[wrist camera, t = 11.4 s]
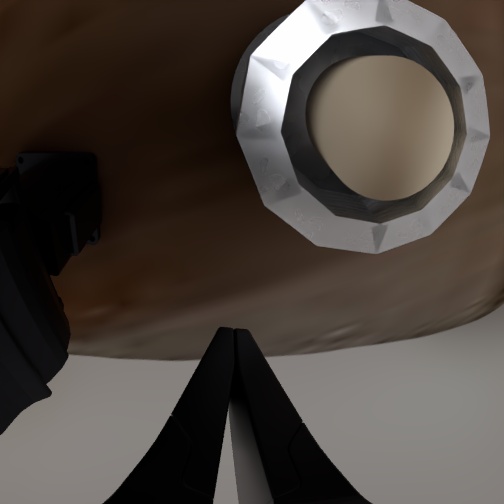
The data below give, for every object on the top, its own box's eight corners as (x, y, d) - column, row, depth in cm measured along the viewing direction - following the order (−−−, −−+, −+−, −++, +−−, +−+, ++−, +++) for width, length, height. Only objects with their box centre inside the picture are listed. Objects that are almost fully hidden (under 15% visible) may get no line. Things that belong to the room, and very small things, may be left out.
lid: (292, 163, 14) (305, 186, 12) (319, 40, 11) (339, 34, 9) (401, 186, 15) (428, 211, 13) (431, 80, 12) (467, 88, 9)
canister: (217, 182, 19) (207, 242, 13) (250, -12, 12) (258, -56, 7) (392, 212, 20) (441, 271, 14) (438, 49, 14) (514, 57, 8)
